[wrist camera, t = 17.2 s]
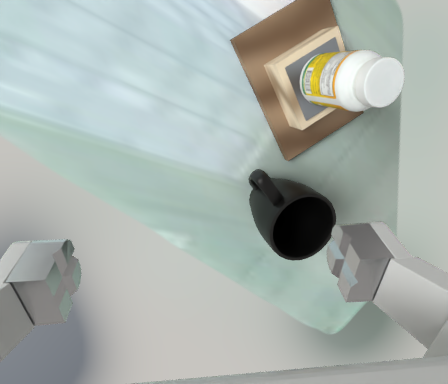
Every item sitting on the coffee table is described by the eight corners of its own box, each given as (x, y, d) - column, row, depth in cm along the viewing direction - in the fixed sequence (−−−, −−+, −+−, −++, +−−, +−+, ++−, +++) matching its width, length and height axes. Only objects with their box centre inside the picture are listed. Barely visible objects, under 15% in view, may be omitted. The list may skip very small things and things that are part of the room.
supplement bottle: (288, 78, 34) (346, 80, 25) (325, 41, 33) (395, 31, 25) (315, 115, 36) (375, 128, 27) (349, 81, 36) (420, 84, 27)
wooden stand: (230, 40, 35) (243, 35, 31) (319, -15, 35) (343, -25, 32) (284, 159, 42) (301, 167, 38) (358, 111, 42) (381, 115, 39)
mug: (260, 133, 39) (298, 150, 31) (305, 198, 45) (347, 227, 36) (210, 176, 39) (234, 205, 31) (261, 235, 45) (293, 273, 36)
